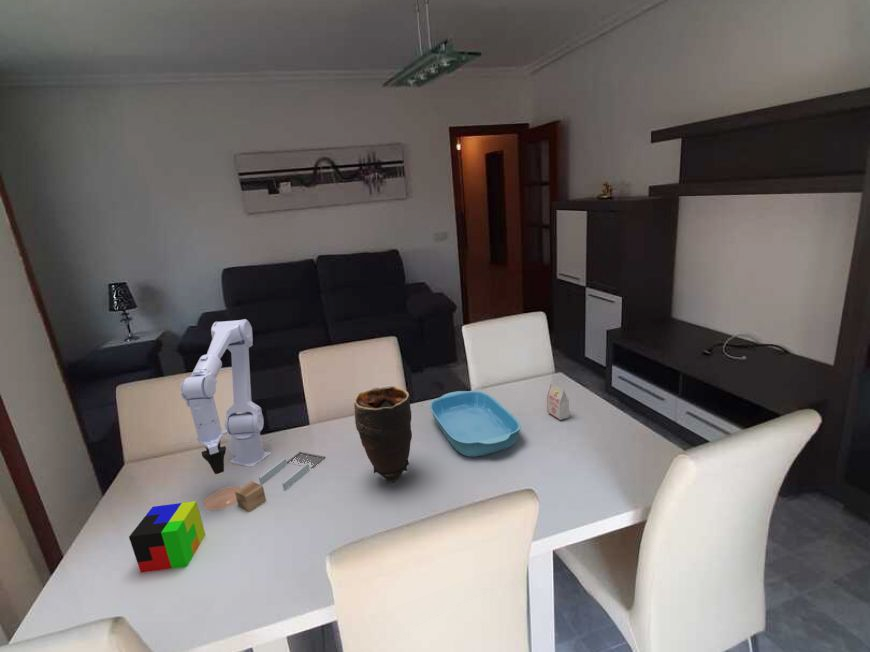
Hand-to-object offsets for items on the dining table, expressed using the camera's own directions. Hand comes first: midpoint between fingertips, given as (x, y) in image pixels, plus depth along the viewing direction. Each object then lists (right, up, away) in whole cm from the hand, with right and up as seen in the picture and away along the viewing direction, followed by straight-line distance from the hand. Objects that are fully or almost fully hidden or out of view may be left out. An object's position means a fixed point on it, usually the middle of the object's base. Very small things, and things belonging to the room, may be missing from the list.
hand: (217, 465), depth 122 cm
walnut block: (+10, -10, -1) cm, 14 cm away
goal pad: (+1, -10, +2) cm, 10 cm away
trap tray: (+19, -4, +17) cm, 26 cm away
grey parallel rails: (+15, -6, +9) cm, 19 cm away
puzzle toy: (-2, -16, -17) cm, 23 cm away
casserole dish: (+70, +3, +25) cm, 75 cm away
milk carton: (+99, +8, +31) cm, 104 cm away
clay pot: (+46, -5, +4) cm, 46 cm away
